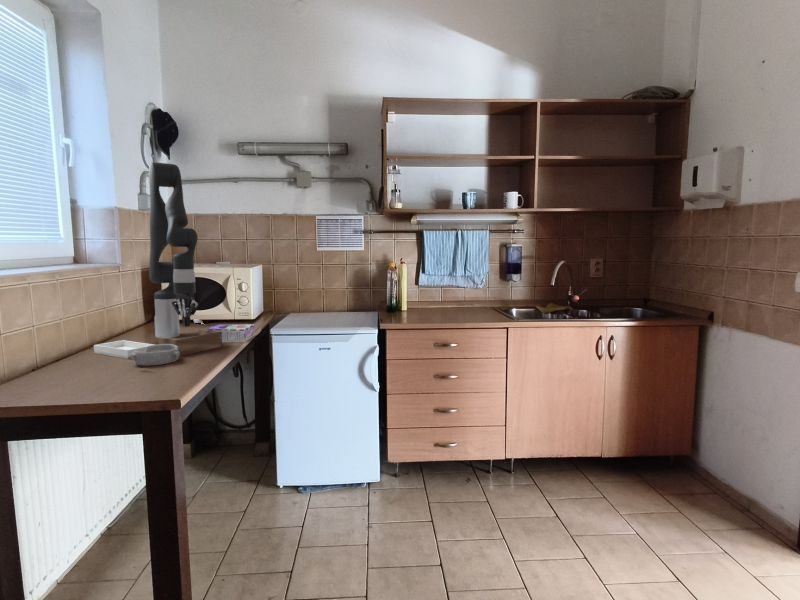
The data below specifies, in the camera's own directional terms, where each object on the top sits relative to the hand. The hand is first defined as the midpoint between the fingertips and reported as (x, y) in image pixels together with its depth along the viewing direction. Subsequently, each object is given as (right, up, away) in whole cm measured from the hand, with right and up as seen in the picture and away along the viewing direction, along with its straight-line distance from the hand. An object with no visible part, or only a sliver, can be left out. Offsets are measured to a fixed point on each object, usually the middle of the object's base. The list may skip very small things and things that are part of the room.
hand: (186, 326), depth 176 cm
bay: (+2, -9, 0) cm, 9 cm away
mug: (-19, -4, +57) cm, 60 cm away
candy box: (+2, -4, +19) cm, 20 cm away
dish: (-1, -11, -19) cm, 22 cm away
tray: (-20, -10, -6) cm, 23 cm away
